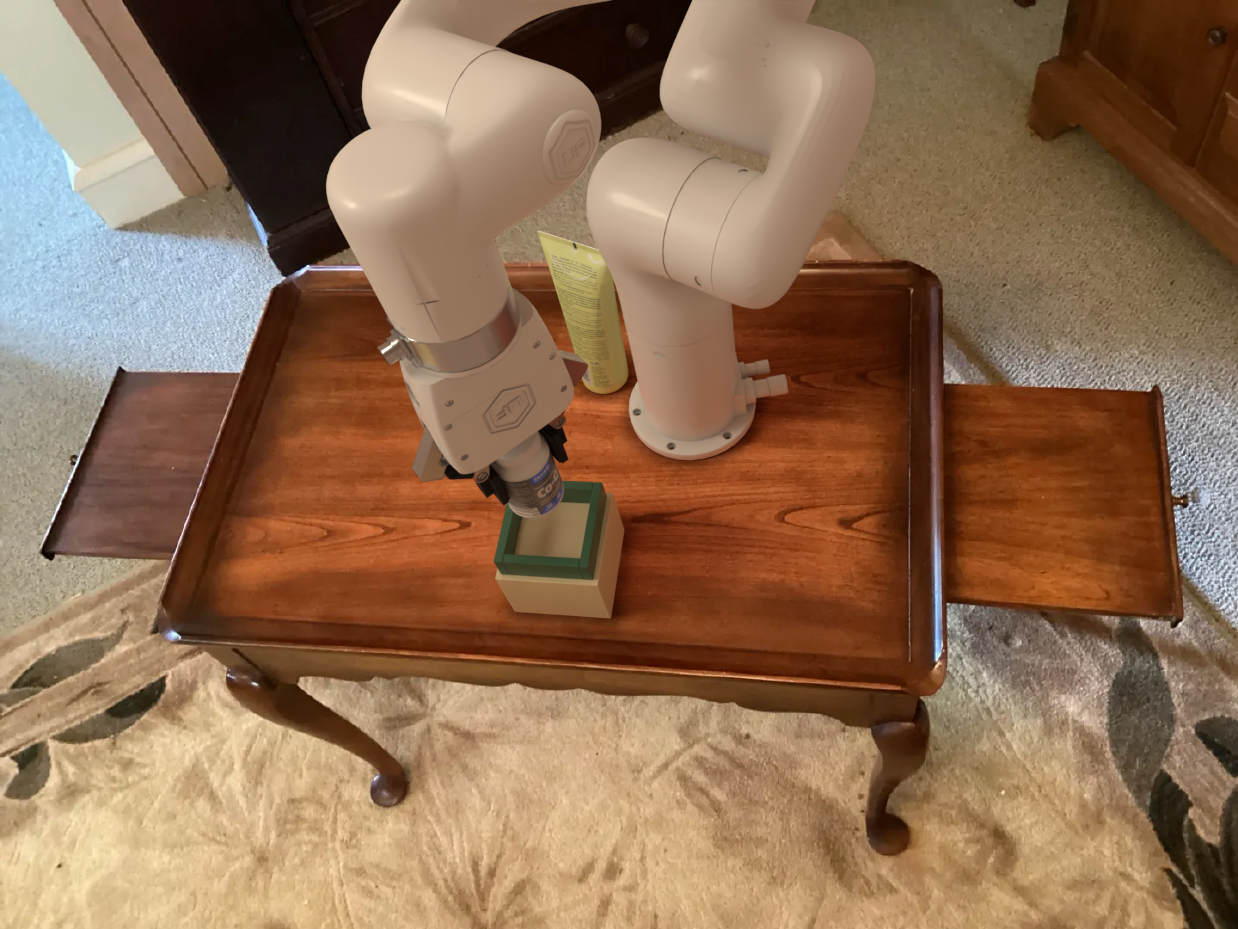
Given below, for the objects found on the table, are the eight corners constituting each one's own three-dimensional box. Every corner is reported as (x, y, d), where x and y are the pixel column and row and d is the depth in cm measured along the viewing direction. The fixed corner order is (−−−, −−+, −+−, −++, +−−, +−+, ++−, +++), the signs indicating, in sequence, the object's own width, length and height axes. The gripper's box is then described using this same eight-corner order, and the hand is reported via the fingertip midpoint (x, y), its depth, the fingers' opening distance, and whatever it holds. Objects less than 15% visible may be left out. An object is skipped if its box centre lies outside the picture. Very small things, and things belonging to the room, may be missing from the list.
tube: (629, 350, 102) (598, 213, 86) (640, 387, 99) (610, 252, 83) (577, 364, 102) (536, 229, 86) (587, 401, 99) (546, 269, 83)
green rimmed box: (624, 530, 90) (608, 477, 82) (611, 619, 86) (592, 572, 78) (532, 525, 92) (508, 473, 84) (514, 612, 88) (486, 566, 80)
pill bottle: (557, 523, 76) (533, 466, 68) (501, 516, 77) (471, 460, 70) (571, 471, 78) (548, 412, 71) (516, 466, 79) (488, 407, 72)
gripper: (368, 430, 55) (460, 569, 71) (602, 274, 59) (641, 438, 74) (311, 356, 59) (410, 503, 74) (535, 214, 63) (585, 381, 78)
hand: (525, 469), depth 74 cm, fingers closed on pill bottle, 4 cm apart
